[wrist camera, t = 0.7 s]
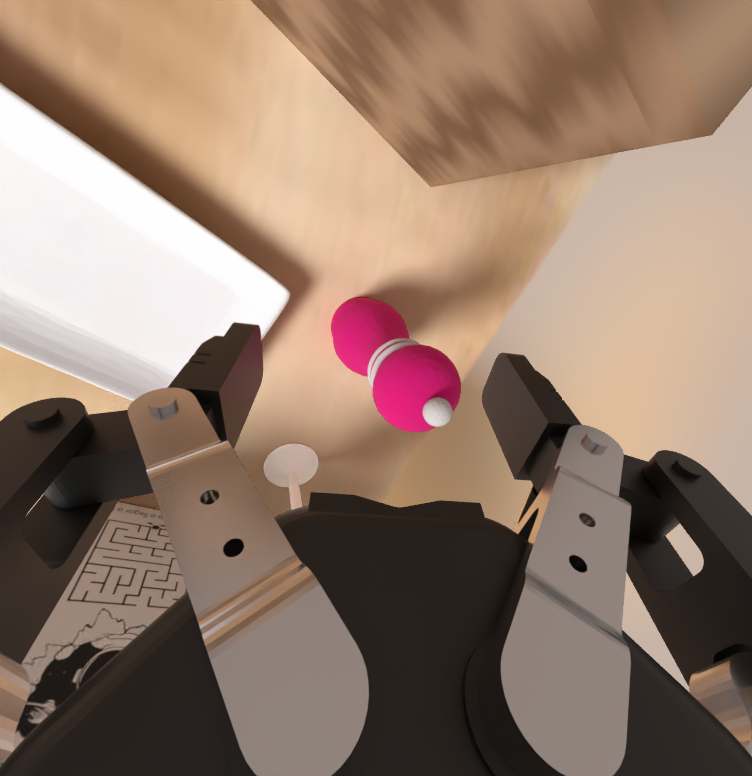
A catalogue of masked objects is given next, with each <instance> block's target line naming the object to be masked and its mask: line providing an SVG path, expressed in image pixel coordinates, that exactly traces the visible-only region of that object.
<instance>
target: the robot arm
mask: <svg viewBox="0 0 752 776" xmlns="http://www.w3.org/2000/svg"><path fill="white" fill-rule="evenodd" d="M262 376H263V357H262V343H261V330H260V327H259V325H255V324H246V323H237V322H234V323H233V324H232V325H231V326H230V328H229V329H228V331H227V332H226V334H225V335H224V336H214V337H212V338H210V339H208V340H207V341H205V342H203V343H202V344H201V345H200V346H199V348H198V349H197V350H196V352H195V355H194V354H193V355H192V357H191V358H190V359H189V362H187V363H186V364H185V366H184V367H183V368H182V369H181V371H180V372H179V373H178V375H177V376H176V377H175V378H174V380H173V381H172V382H171V384H170V385H169V386H168V387H167V388H161V389H157V390H153V391H150V392H147V393H145V394H143V395H141V396H139V397H138V398H136V399H135V400H134V401H133V402H132V403H131V405H130V406H129V408H128V410H124V411H117V412H108V413H99V414H91V415H88V413H87V411H86V408H85V406H84V405H83V404H82V403H81V402H80V401H78V400H75V399H71V398H50V399H44V400H40V401H36V402H33V403H30V404H27V405H25V406H23V407H20V408H18V409H16V410H15V411H13V412H11V413H10V414H9V415H7V416H6V417H5V418H4V419H3V420H1V421H0V776H752V516H751V515H750V514H749V513H748V512H747V511H746V510H745V508H744V507H743V506H742V505H741V504H740V503H739V502H738V501H737V500H736V499H735V498H734V497H733V496H732V495H731V494H730V493H729V492H728V491H727V490H726V488H725V487H724V486H723V485H722V484H721V483H720V482H719V481H718V480H717V479H716V478H715V477H714V476H713V475H712V474H711V473H710V472H709V471H708V470H707V469H706V468H704V467H703V466H702V465H700V464H699V463H697V462H696V461H694V460H692V459H691V458H689V457H687V456H684V455H682V454H680V453H677V452H673V451H668V450H663V451H659V452H657V453H656V454H655V455H654V456H653V457H652V458H651V460H650V461H649V462H647V461H644V460H640V459H637V458H634V457H630V456H627V455H624V453H623V450H622V448H621V447H620V445H619V444H618V443H617V442H616V441H615V440H614V439H613V438H611V437H610V436H609V435H607V434H605V433H604V432H602V431H600V430H598V429H596V428H593V427H590V426H586V425H582V424H581V423H580V422H579V421H578V419H577V418H576V416H575V415H574V414H573V413H572V411H571V410H570V408H569V407H568V406H567V404H566V403H565V402H564V400H562V397H561V396H560V395H559V394H558V392H556V390H555V388H554V387H553V385H552V384H551V383H550V381H549V380H548V379H546V378H545V377H544V376H543V375H541V374H540V373H539V372H537V371H535V369H534V368H533V367H532V365H531V364H530V363H529V361H528V360H527V358H526V357H525V356H524V355H518V354H508V353H500V354H499V355H498V357H497V358H496V360H495V363H494V365H493V367H492V370H491V372H490V375H489V377H488V380H487V382H486V385H485V387H484V390H483V394H482V403H483V407H484V409H485V412H486V414H487V416H488V418H489V421H490V423H491V426H492V428H493V430H494V432H495V435H496V437H497V439H498V442H499V444H500V446H501V449H502V451H503V453H504V456H505V458H506V460H507V462H508V465H509V467H510V469H511V472H512V474H513V476H514V479H518V480H531V481H532V483H533V485H532V487H531V488H530V490H529V491H528V493H527V496H526V498H525V500H524V503H523V505H522V507H521V510H520V512H519V515H518V517H517V519H516V522H515V524H514V526H513V529H512V530H511V529H509V528H508V527H506V526H503V525H502V524H500V523H498V522H495V521H493V520H491V519H488V518H485V517H484V514H483V510H482V507H481V504H480V503H471V502H455V501H435V502H430V503H424V504H419V505H413V506H408V507H402V508H398V507H393V506H390V505H386V504H383V503H380V502H376V501H373V500H369V499H366V498H363V497H359V496H356V495H346V494H330V493H315V492H311V495H310V502H309V506H305V507H300V508H296V509H293V510H290V511H287V512H285V513H283V514H280V515H278V516H277V517H275V518H274V517H273V515H272V513H271V512H270V510H269V508H268V507H267V505H266V503H265V502H264V500H263V498H262V497H261V495H260V493H259V491H258V490H257V488H256V486H255V485H254V483H253V481H252V480H251V478H250V476H249V475H248V473H247V471H246V470H245V468H244V466H243V465H242V463H241V461H240V459H239V458H238V456H237V454H236V453H235V451H234V447H235V445H236V442H237V440H238V438H239V435H240V433H241V430H242V428H243V426H244V423H245V421H246V418H247V416H248V414H249V411H250V409H251V407H252V404H253V402H254V399H255V397H256V395H257V392H258V390H259V387H260V385H261V382H262ZM43 493H44V495H43V496H42V494H43ZM149 493H154V495H155V498H156V501H157V504H158V507H159V510H160V512H161V515H162V518H163V521H164V524H165V527H166V530H167V533H168V536H169V539H170V542H171V545H172V548H173V550H174V553H175V556H176V559H177V562H178V565H179V568H180V571H181V574H182V577H183V580H184V583H185V585H186V588H187V592H186V593H185V594H184V595H183V596H181V597H180V598H179V599H178V600H177V601H176V602H175V603H174V604H173V605H171V606H170V607H169V608H168V609H167V610H166V611H165V612H164V613H162V614H161V615H160V616H159V617H158V618H157V619H156V620H155V621H153V622H152V623H151V624H150V625H149V626H148V627H147V628H146V629H144V630H143V631H142V632H141V633H140V634H139V635H138V636H137V637H135V638H134V639H133V640H132V641H131V642H130V643H129V644H128V645H127V646H125V647H124V648H123V649H122V650H121V651H120V652H119V653H118V654H116V655H115V656H114V657H113V658H112V659H111V660H110V661H109V662H107V663H106V664H105V665H104V666H103V667H102V668H101V669H100V670H98V671H97V672H96V673H95V674H94V675H93V676H92V677H91V678H89V679H88V680H87V681H86V682H85V683H84V684H83V685H82V686H81V687H79V688H78V689H77V690H76V691H75V692H74V693H73V694H72V695H70V696H69V697H68V698H67V699H66V700H65V701H64V702H63V703H61V704H60V705H59V706H58V707H57V708H56V709H55V710H54V711H52V712H51V713H50V714H49V715H48V716H47V717H46V718H45V719H44V720H43V721H41V722H40V723H39V724H38V725H37V726H36V727H35V728H34V729H33V730H32V731H31V732H30V733H29V734H28V735H27V736H26V737H25V738H24V739H23V741H22V742H21V743H20V744H19V745H18V746H17V747H16V748H15V749H14V738H15V732H16V728H17V725H18V722H19V719H20V717H21V714H22V712H23V710H24V707H25V705H26V702H27V699H28V695H29V690H30V679H29V675H28V673H27V671H26V670H25V668H24V667H23V666H21V664H22V662H23V660H24V659H25V657H26V655H27V654H28V652H29V650H30V649H31V647H32V645H33V643H34V642H35V640H36V638H37V637H38V635H39V633H40V632H41V630H42V628H43V627H44V625H45V623H46V622H47V620H48V618H49V617H50V615H51V613H52V612H53V610H54V608H55V607H56V605H57V603H58V601H59V600H60V598H61V596H62V595H63V593H64V591H65V590H66V588H67V586H68V585H69V583H70V581H71V580H72V578H73V576H74V575H75V573H76V571H77V570H78V568H79V566H80V564H81V563H82V561H83V559H84V558H85V556H86V554H87V553H88V551H89V549H90V548H91V546H92V544H93V543H94V541H95V539H96V538H97V536H98V534H99V533H100V531H101V529H102V528H103V526H104V524H105V522H106V521H107V519H108V517H109V516H110V514H111V512H112V511H113V509H114V507H115V506H116V504H117V502H118V501H119V499H123V498H129V497H134V496H139V495H144V494H149ZM41 496H42V497H41ZM40 497H41V499H40V500H39V501H38V502H37V500H38V499H39V498H40ZM36 502H37V504H36V505H35V506H34V507H33V505H34V504H35V503H36ZM32 507H33V509H32V510H31V511H30V512H29V510H30V509H31V508H32ZM28 512H29V513H28ZM27 513H28V515H27ZM26 515H27V516H26ZM678 524H681V525H682V526H683V528H684V529H685V530H686V532H687V533H688V534H689V536H690V537H691V538H692V540H693V541H694V542H695V544H696V545H697V546H698V548H699V549H700V551H701V553H702V555H703V558H704V565H703V569H702V570H701V572H699V573H698V574H697V575H695V576H694V577H693V575H692V574H691V572H690V571H689V569H688V568H687V566H686V565H685V564H684V562H683V561H682V559H681V558H680V557H679V555H678V553H677V552H676V551H675V549H674V548H673V546H672V545H671V543H670V542H669V540H668V539H667V538H666V536H665V535H667V534H668V533H669V532H670V531H671V530H672V529H674V528H675V527H676V526H677V525H678ZM626 572H627V574H628V575H629V577H630V579H631V581H632V583H633V585H634V587H635V588H636V590H637V592H638V594H639V596H640V598H641V599H642V601H643V603H644V605H645V607H646V609H647V611H648V612H649V614H650V616H651V618H652V620H653V622H654V623H655V625H656V627H657V629H658V631H659V633H660V634H661V636H662V638H663V640H664V642H665V643H666V646H667V647H668V649H669V651H670V653H671V655H672V657H673V658H674V660H675V662H676V664H677V666H678V668H679V669H680V671H681V673H682V675H683V677H684V679H685V680H686V682H687V684H688V686H689V690H690V693H689V692H688V691H687V690H686V689H685V688H684V687H683V686H682V685H681V684H680V683H679V682H678V681H676V680H675V679H674V678H673V677H672V676H671V675H670V674H669V673H668V672H667V671H666V670H665V669H663V667H661V666H660V665H659V664H658V663H657V662H656V661H655V660H654V659H653V658H652V657H651V656H650V655H649V654H647V653H646V652H645V651H644V650H643V649H642V648H641V647H640V646H639V645H638V644H637V643H636V642H635V641H634V640H632V639H631V638H630V637H629V636H628V635H627V634H626V633H625V632H624V631H623V630H622V615H623V604H624V592H625V579H626Z"/></svg>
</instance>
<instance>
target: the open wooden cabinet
mask: <svg viewBox="0 0 752 776" xmlns="http://www.w3.org/2000/svg"><path fill="white" fill-rule="evenodd" d="M251 1H252V2H253V3H254V4H255V5H256V6H257V7H258V8H259V9H260V10H261V11H262V12H263V13H264V14H265V15H266V16H267V17H268V18H269V19H270V20H271V21H272V23H273V24H274V25H275V26H276V27H277V28H278V29H279V30H280V31H281V32H282V33H283V34H284V35H285V36H286V37H287V38H288V39H289V40H290V41H291V42H292V43H293V44H294V45H295V46H296V47H297V48H298V50H299V51H300V52H301V53H302V54H303V55H304V56H305V57H306V58H307V59H308V60H309V61H310V62H311V63H312V64H313V65H314V66H315V67H316V68H317V69H318V70H319V71H320V72H321V73H322V74H323V75H324V77H325V78H326V79H327V80H328V81H329V82H330V83H331V84H332V85H333V86H334V87H335V88H336V89H337V90H338V91H339V92H340V93H341V94H342V95H343V96H344V97H345V98H346V99H347V100H348V101H349V102H350V104H351V105H352V106H353V107H354V108H355V109H356V110H357V111H358V112H359V113H360V114H361V115H362V116H363V117H364V118H365V119H366V120H367V121H368V122H369V123H370V124H371V125H372V126H373V127H374V128H375V129H376V131H377V132H378V133H379V134H380V135H381V136H382V137H383V138H384V139H385V140H386V141H387V142H388V143H389V144H390V145H391V146H392V147H393V148H394V149H395V150H396V151H397V152H398V153H399V154H400V155H401V157H402V158H403V159H404V160H405V161H406V162H407V163H408V164H409V165H410V166H411V167H412V168H413V169H414V170H415V171H416V172H417V173H418V174H419V175H420V176H421V177H422V178H423V179H424V180H425V181H426V182H427V184H428V185H429V186H430V187H434V186H439V185H445V184H450V183H455V182H461V181H466V180H472V179H477V178H482V177H488V176H493V175H499V174H504V173H509V172H515V171H520V170H526V169H531V168H536V167H542V166H547V165H552V164H558V163H563V162H569V161H574V160H579V159H585V158H590V157H596V156H601V155H606V154H612V153H617V152H623V151H628V150H633V149H639V148H644V147H649V146H654V145H660V144H666V143H671V142H676V141H682V140H687V139H693V138H698V137H703V136H709V135H712V134H713V133H714V132H715V130H716V129H717V128H718V127H719V126H720V124H721V123H722V122H723V121H724V120H725V118H726V117H727V116H728V115H729V113H730V112H731V111H732V110H733V109H734V107H735V106H736V105H737V104H738V103H739V101H740V100H741V99H742V97H743V96H744V95H745V94H746V93H747V92H748V90H749V89H750V88H751V87H752V0H251Z"/></svg>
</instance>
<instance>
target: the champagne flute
mask: <svg viewBox="0 0 752 776" xmlns="http://www.w3.org/2000/svg"><path fill="white" fill-rule="evenodd" d="M318 464H319V461H318V457H317V455H316V453H315V452H314V451H313V450H312V449H311V448H310V447H308V446H306V445H302V444H286V445H283V446H280V447H278V448H276V449H275V450H273V451H272V452H271V453H270V454H269V455H268V456H267V458H266V460H265V462H264V466H263V471H264V474H265V476H266V478H267V479H268V480H269V481H270V482H271V483H273V484H274V485H277V486H280V487H289V493H290V503H291V510H293V509H296V508H300V507H302V501H301V494H300V487H299V485H301V484H304V483H305V482H307V481H309V480H310V479H311V478H312V477H313V476H314V475H315V473H316V471H317V469H318Z"/></svg>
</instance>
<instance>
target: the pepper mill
mask: <svg viewBox="0 0 752 776" xmlns="http://www.w3.org/2000/svg"><path fill="white" fill-rule="evenodd" d="M331 332H332V336H333V343H334V348H335V351H336V354H337V355H338V357H339V359H340V360H341V361H342V362H343V363H344V364H345V365H346V366H347V367H348V368H349V369H350V370H352V371H353V372H356V373H358V374H360V375H363V376H367V377H368V380H369V383H370V385H371V387H372V389H373V398H374V402H375V404H376V407H377V409H378V411H379V412H380V414H381V415H382V416H383V418H384V419H385V420H386V421H388V422H389V423H390V424H391V425H393V426H394V427H397V428H399V429H401V430H404V431H408V432H424V431H428V430H431V429H433V428H435V427H440V426H443V425H445V424H447V423H448V422H449V421H450V419H451V417H452V413H453V411H454V410H455V408H456V406H457V404H458V402H459V399H460V393H461V382H460V378H459V374H458V372H457V369H456V367H455V366H454V364H453V363H452V362H451V360H450V359H449V358H448V357H447V356H446V355H445V354H443V353H442V352H441V351H439V350H437V349H435V348H432V347H430V346H425V345H420V344H419V343H418V342H416V341H414V340H411V339H409V335H408V331H407V328H406V325H405V322H404V320H403V319H402V317H401V316H400V315H399V314H398V312H397V311H396V310H395V309H394V308H392V307H391V306H390V305H388V304H386V303H383V302H380V301H375V300H371V299H368V298H363V297H358V298H353V299H350V300H348V301H346V302H345V303H343V304H342V305H341V306H340V307H339V308H338V309H337V311H336V312H335V314H334V316H333V319H332V323H331Z"/></svg>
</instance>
